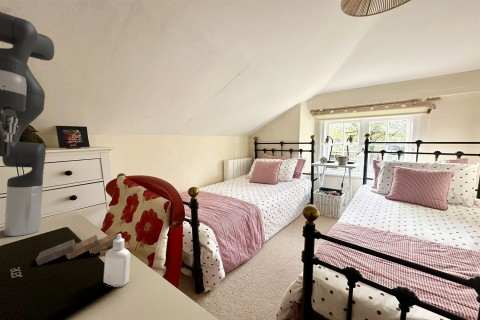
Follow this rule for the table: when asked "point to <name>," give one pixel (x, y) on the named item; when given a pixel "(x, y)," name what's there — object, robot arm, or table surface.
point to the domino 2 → (104, 243)
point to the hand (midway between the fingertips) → (2, 156)
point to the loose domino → (56, 252)
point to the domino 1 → (84, 246)
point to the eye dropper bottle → (117, 264)
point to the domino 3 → (103, 252)
